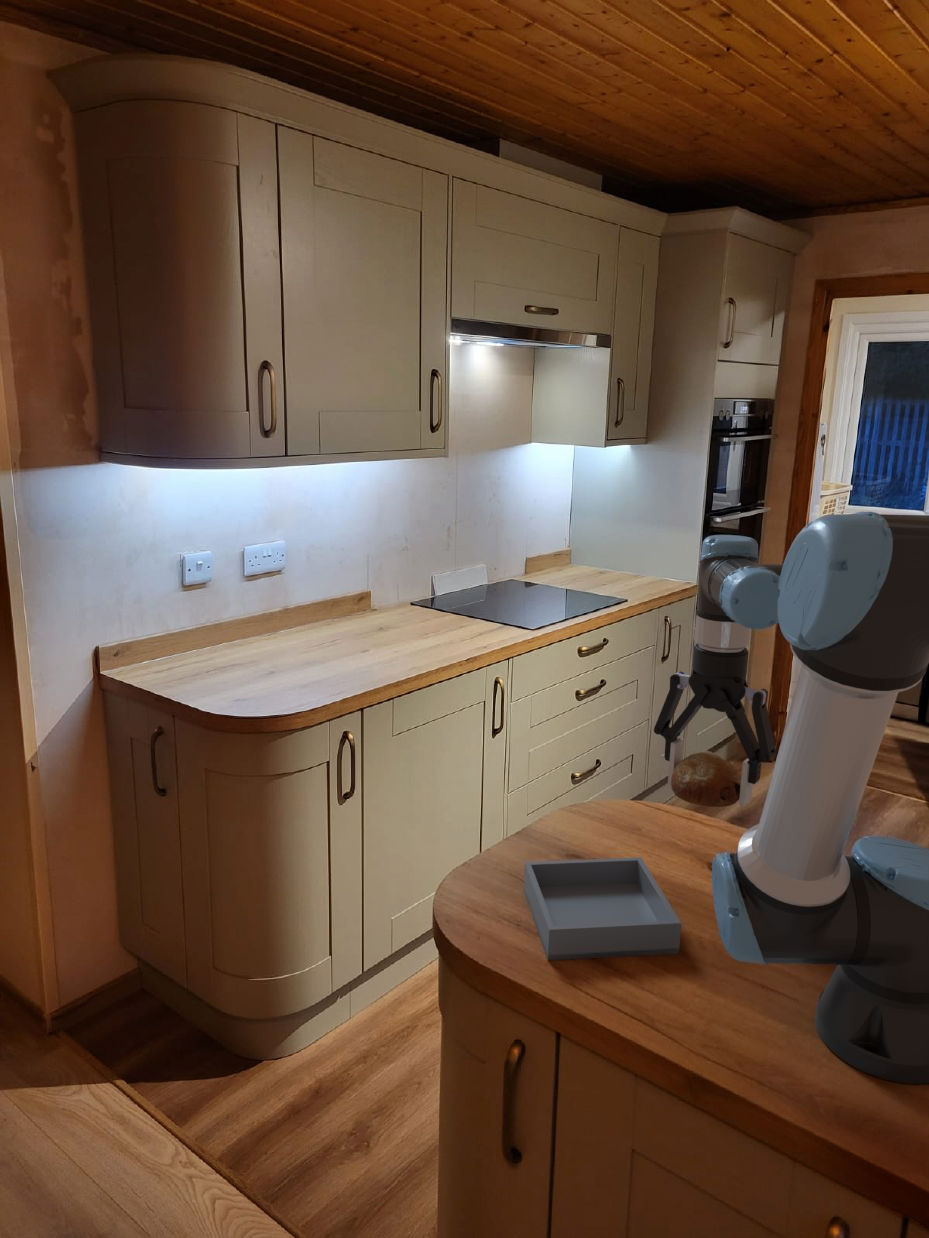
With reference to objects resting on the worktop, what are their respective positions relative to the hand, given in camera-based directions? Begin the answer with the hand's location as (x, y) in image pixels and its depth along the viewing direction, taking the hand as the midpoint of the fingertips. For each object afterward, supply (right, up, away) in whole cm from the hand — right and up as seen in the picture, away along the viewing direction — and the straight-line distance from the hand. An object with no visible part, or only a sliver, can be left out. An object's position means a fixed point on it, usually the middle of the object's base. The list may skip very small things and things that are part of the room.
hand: (708, 791), depth 137 cm
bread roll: (0, -1, 0) cm, 1 cm away
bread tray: (-17, -17, -6) cm, 25 cm away
